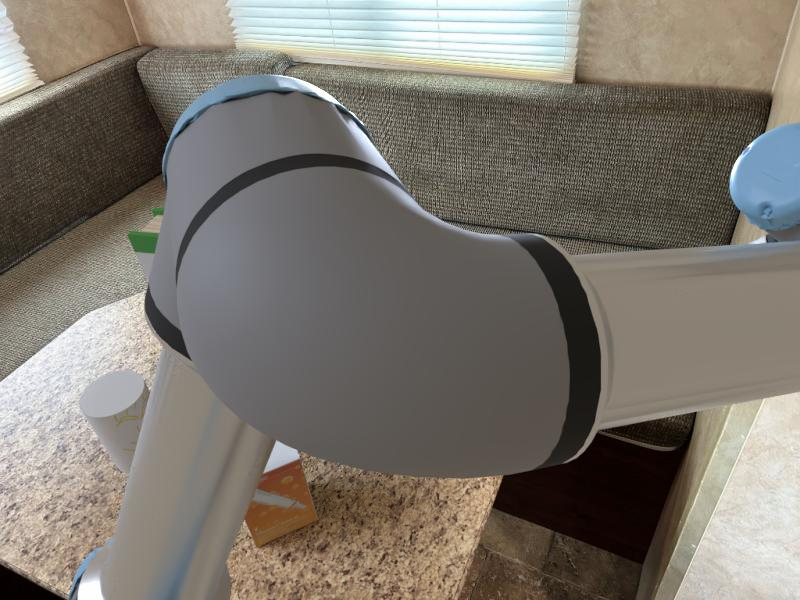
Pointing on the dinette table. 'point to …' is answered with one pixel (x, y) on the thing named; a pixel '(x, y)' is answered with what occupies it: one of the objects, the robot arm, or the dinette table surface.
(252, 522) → the small box
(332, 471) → the dinette table surface
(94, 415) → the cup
